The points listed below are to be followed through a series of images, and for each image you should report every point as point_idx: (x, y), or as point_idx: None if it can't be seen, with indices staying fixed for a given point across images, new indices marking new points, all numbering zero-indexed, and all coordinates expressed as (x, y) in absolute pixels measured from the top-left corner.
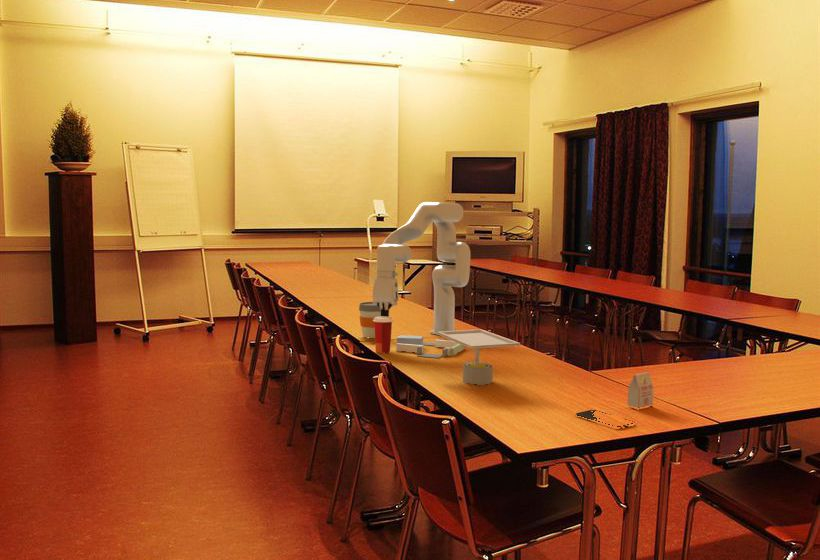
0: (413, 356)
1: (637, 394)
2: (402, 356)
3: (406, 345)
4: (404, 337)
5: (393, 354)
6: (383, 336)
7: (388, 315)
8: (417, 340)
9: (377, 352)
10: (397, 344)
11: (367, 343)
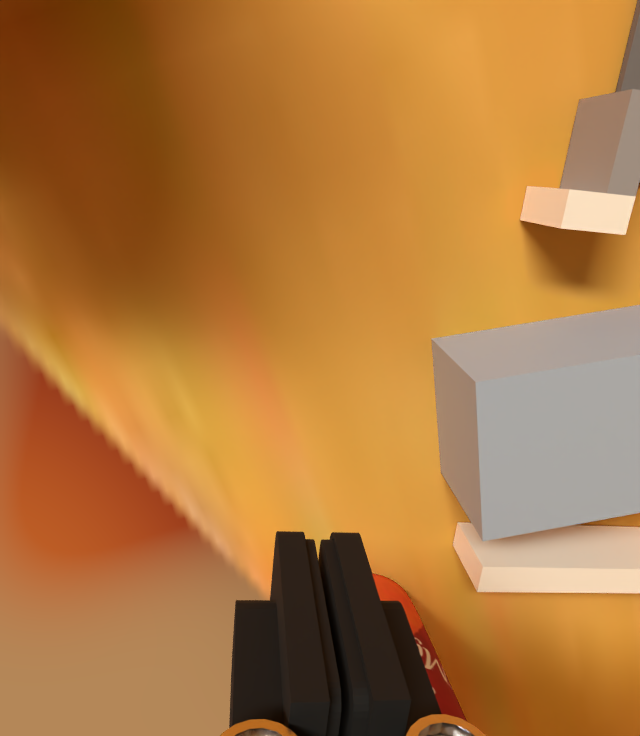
0: (621, 661)
1: None
2: (541, 688)
3: (577, 585)
4: (564, 496)
5: (461, 656)
6: None
7: (402, 631)
8: None
9: None
10: (489, 587)
11: (24, 284)
